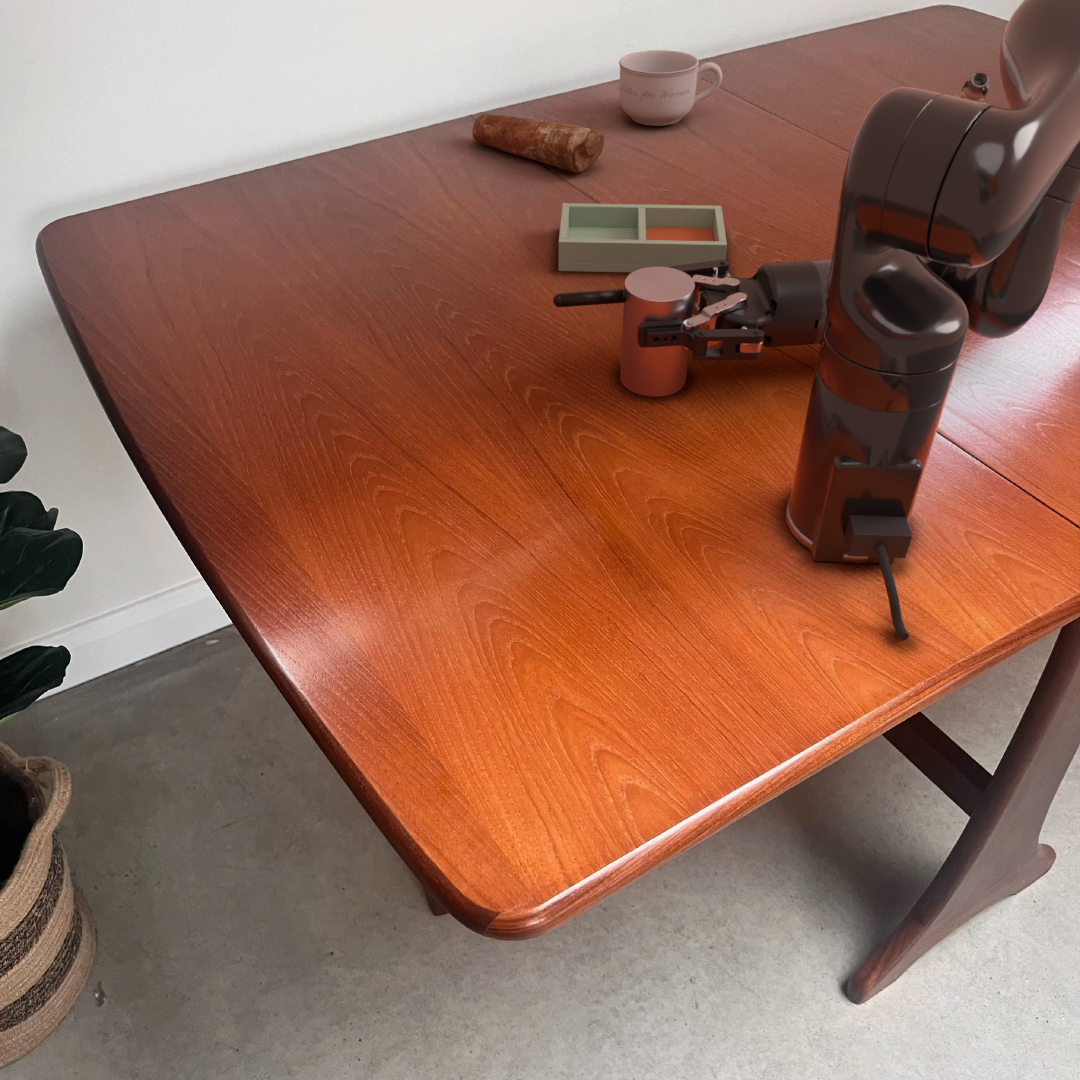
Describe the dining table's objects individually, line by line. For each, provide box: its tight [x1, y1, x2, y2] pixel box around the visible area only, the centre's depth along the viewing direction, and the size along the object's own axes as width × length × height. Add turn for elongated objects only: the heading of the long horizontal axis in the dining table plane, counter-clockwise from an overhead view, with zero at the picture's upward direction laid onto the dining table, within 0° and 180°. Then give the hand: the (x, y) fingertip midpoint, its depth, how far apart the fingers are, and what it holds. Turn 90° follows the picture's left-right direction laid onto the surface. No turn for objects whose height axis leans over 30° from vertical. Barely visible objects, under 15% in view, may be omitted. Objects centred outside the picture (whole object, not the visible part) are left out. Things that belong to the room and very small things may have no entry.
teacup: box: [618, 49, 723, 127], centre depth 143 cm, size 14×11×8 cm
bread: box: [471, 113, 605, 174], centre depth 135 cm, size 6×19×6 cm, turn 52°
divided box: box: [557, 202, 728, 273], centre depth 116 cm, size 9×18×4 cm, turn 86°
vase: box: [954, 72, 990, 104], centre depth 143 cm, size 5×5×6 cm
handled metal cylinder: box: [552, 267, 695, 398], centre depth 95 cm, size 13×6×10 cm, turn 96°
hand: (632, 315), depth 94 cm, fingers closed on handled metal cylinder, 6 cm apart
